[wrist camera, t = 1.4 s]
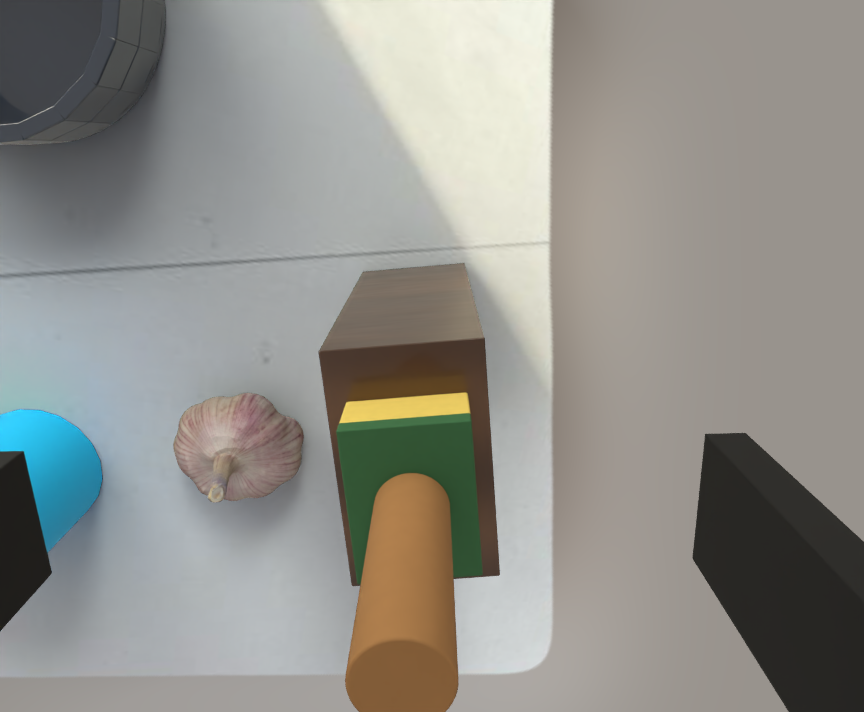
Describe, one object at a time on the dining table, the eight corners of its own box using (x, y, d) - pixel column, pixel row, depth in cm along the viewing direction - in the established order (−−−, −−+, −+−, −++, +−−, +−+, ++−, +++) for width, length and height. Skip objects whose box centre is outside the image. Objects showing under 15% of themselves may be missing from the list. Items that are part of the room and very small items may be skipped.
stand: (362, 271, 39) (318, 350, 24) (464, 263, 39) (484, 337, 24) (380, 428, 42) (351, 586, 27) (475, 420, 42) (499, 576, 27)
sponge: (345, 401, 25) (284, 581, 15) (467, 391, 25) (492, 565, 14) (364, 542, 27) (321, 791, 16) (478, 533, 26) (506, 779, 16)
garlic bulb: (328, 419, 42) (305, 480, 35) (270, 505, 44) (235, 580, 36) (222, 355, 41) (174, 403, 33) (167, 446, 43) (109, 511, 35)
